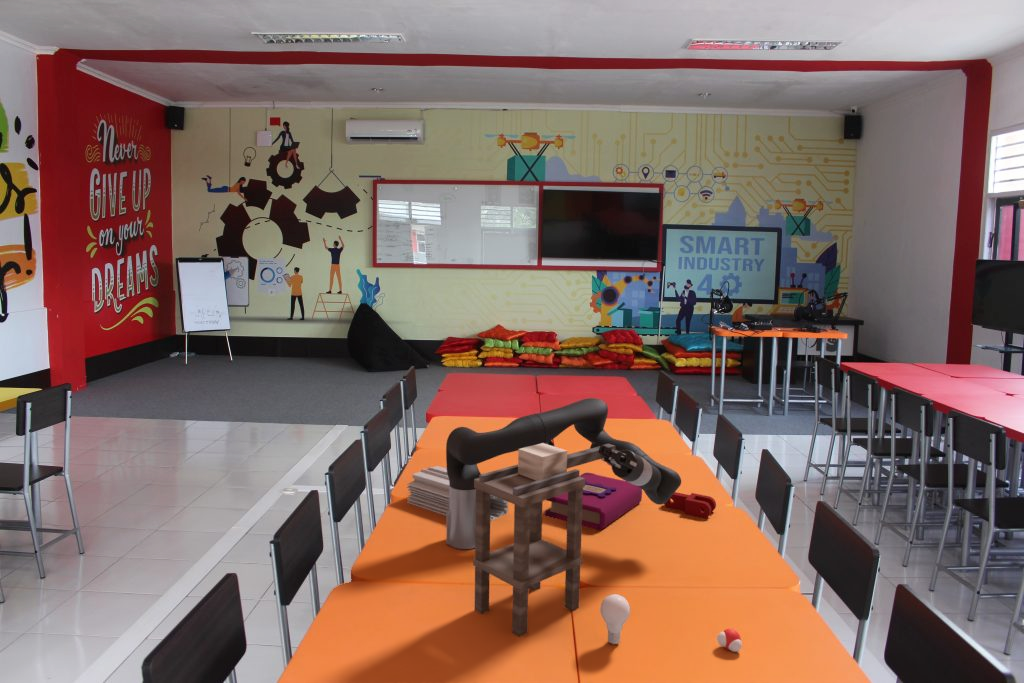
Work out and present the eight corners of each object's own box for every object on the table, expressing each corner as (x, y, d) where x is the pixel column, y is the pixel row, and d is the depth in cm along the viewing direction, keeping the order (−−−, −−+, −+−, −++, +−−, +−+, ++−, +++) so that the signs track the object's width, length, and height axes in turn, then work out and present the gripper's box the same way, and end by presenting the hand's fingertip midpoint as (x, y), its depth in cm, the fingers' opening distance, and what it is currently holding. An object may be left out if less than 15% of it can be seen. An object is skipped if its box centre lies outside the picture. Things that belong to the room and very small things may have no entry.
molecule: (736, 642, 164) (737, 624, 164) (743, 655, 160) (745, 636, 159) (713, 642, 164) (715, 624, 164) (720, 655, 159) (721, 636, 159)
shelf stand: (519, 637, 165) (522, 491, 160) (472, 609, 176) (474, 473, 171) (580, 607, 178) (585, 472, 173) (533, 583, 190) (536, 456, 185)
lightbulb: (596, 635, 166) (598, 589, 164) (624, 635, 167) (626, 588, 165) (602, 651, 160) (604, 603, 158) (631, 650, 160) (633, 602, 159)
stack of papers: (478, 527, 225) (479, 495, 224) (406, 503, 244) (406, 473, 242) (507, 513, 237) (508, 483, 235) (437, 491, 255) (437, 463, 254)
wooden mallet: (542, 482, 169) (542, 457, 168) (517, 473, 175) (518, 448, 174) (623, 458, 189) (624, 435, 188) (599, 451, 195) (600, 428, 194)
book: (641, 504, 247) (642, 482, 246) (602, 532, 224) (603, 508, 222) (585, 491, 258) (586, 470, 257) (542, 516, 235) (543, 493, 234)
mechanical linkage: (715, 512, 240) (716, 497, 240) (709, 519, 234) (710, 504, 234) (667, 502, 248) (668, 488, 248) (660, 509, 242) (661, 494, 242)
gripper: (648, 488, 193) (612, 468, 181) (607, 474, 203) (570, 454, 191) (658, 461, 194) (623, 439, 183) (616, 449, 204) (580, 427, 193)
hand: (596, 447), depth 187 cm, fingers closed on wooden mallet
